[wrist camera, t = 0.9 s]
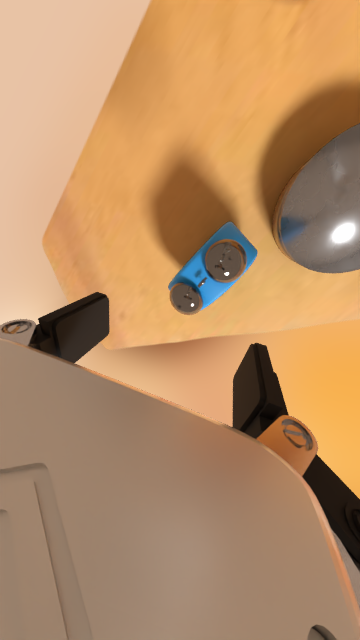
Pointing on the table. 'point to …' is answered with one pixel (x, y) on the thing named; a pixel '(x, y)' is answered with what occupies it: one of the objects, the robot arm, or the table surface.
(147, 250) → the table surface
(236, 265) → the alarm clock
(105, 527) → the robot arm
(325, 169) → the round tin
